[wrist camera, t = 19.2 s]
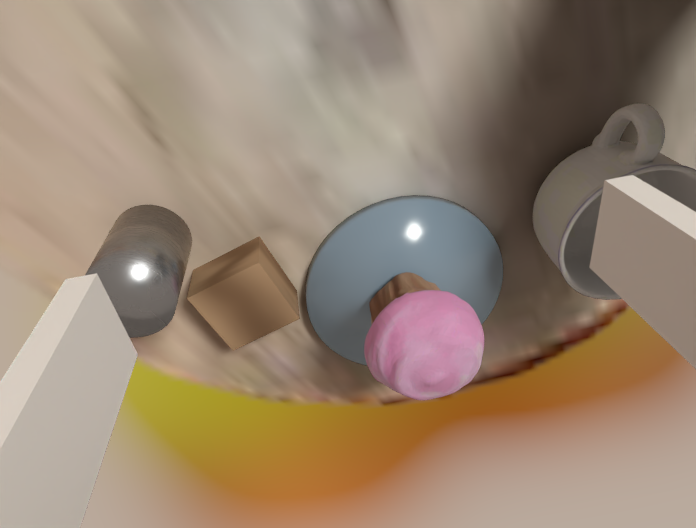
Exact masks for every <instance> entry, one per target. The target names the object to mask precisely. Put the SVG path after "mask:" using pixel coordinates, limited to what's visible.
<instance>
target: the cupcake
mask: <svg viewBox="0 0 696 528" xmlns="http://www.w3.org/2000/svg"><path fill="white" fill-rule="evenodd" d="M369 307H370V312H371V324H372V326H371V327H370V329H369V331H368V333H367V336H366V339H365V343H364V355H365V359H366V363H367V366H368V368H369V370H370V372H371V374H372V376H373V377H374V378H375V379H376V380H377V381H379V382H381V383H382V384H384V385H386V386H388V387H389V388H391V389H392V390H394V391H396V392H398V393H401V394H402V395H405V396H407V397H410V398H413V399H416V400H429V399H434V398H438V397H442V396H446V395H449V394H452V393H454V392H456V391H458V390H459V389H460V388H462V387H463V386H465V385H467V384H468V383H469V382H470V381H471V380H472V379H473V378H474V376H475V375H476V374H477V372H478V370H479V368H480V366H481V362H482V356H483V350H484V333H483V328H482V325H481V323H480V320H479V318H478V316H477V314H476V313H475V311H474V309H473V308H472V307H471V306H470V305H469V304H468V303H467V302H465V301H464V300H462V299H460V298H459V297H458V296H456V295H455V294H452V293H450V292H447V291H441V290H440V289H439V288H438V287H437V285H436V284H434V283H431V282H428V281H426V280H424V279H423V278H422V277H420V276H418V275H417V274H414V273H410V272H405V273H401V274H398V275H396V276H395V277H394V278H393V279H392V280H391V281H390V282H388V283H387V284H386V285H385V286H384V287H383V288H382V289H381V290H379V291H378V292H377V293H376V294H375V296H374V297H373V298H372V299H371V301H370V303H369Z"/></svg>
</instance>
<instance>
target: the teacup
mask: <svg viewBox="0 0 696 528" xmlns="http://www.w3.org/2000/svg"><path fill="white" fill-rule="evenodd" d="M631 121H632V122H633V124H634V126H635V128H636V130H637V135H638V143H637V144H636V143H632V142H625V141H619V140H620V138H621V136H622V134H623V132H624V130H625V128H626V127H627V125H628V124H629V123H630V122H631ZM664 138H665V129H664V124H663V121H662V118H661V117H660V115H659V113H658V112H657V111H656V110H655V109H654V108H653V107H651V106H650V105H647V104H640V103H636V104H632V105H628V106H625V107H622V108H620V109H618V110H617V111H616V112H614V113H613V115H612V116H611V117H610V118H609V119H608V121H607V122H606V124H605V126H604V128H603V129H602V131H601V133H600V134H598V135H597V136H596V137H595V138H594V140H593V143H592V145H591V146H588V147H585V148H583V149H581V150H579V151H577V152H575V153H574V154H572V155H570V156H569V157H567V158H566V159H564V160H563V161H562V162H561V163H560V164H558V165H557V166H556V167H555V168H554V169H553V170H552V171H551V173H550V174H549V175H548V176H547V178H546V179H545V181H544V182H543V184H542V185H541V187H540V189H539V191H538V194H537V196H536V199H535V203H534V207H533V226H534V230H535V233H536V236H537V238H538V240H539V242H540V244H541V246H542V247H543V249H544V250H545V252H546V253H547V255H548V256H549V257H550V259H551V260H552V261H553V263H554V264H555V265H556V266H557V268H558V269H559V270H560V271H561V273H562V276H563V277H564V279H565V280H566V282H567V283H568V284H569V285H570V286H571V287H572V288H573V289H574V290H575V291H577V292H579V293H580V294H582V295H585V296H588V297H592V298H597V299H605V300H610V299H622V298H621V297H620V296H619V295H618V294H617V293H616V292H615V291H613V290H612V289H611V288H610V287H609V286H608V285H607V284H606V283H605V282H604V281H603V280H602V279H601V278H600V277H599V276H598V275H597V274H596V273H595V272H594V271H593V270H591V269H590V268H589V267H590V261H591V256H592V250H593V244H594V238H595V233H596V227H597V221H598V216H599V210H600V204H601V198H602V193H603V187H604V181H605V180H608V179H613V178H619V177H624V176H630V175H634V176H635V177H637V178H639V179H641V180H642V181H644V182H646V183H647V184H649V185H651V186H652V187H654V188H656V189H658V190H659V191H661V192H663V193H664V194H666V195H668V196H670V197H671V198H673V199H675V200H676V201H678V202H680V203H681V204H683V205H685V206H687V207H688V208H690V209H692V210H693V211H695V212H696V170H695V169H693V168H690V167H687V166H683V165H681V164H679V163H677V162H676V161H674V160H672V159H670V158H668V157H666V156H665V155H663V154H661V153H659V152H660V150H661V148H662V146H663V142H664Z"/></svg>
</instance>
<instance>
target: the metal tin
mask: <svg viewBox="0 0 696 528" xmlns="http://www.w3.org/2000/svg"><path fill="white" fill-rule="evenodd" d="M191 247H192V237H191V233H190V230H189V228H188V226H187V225H186V223H185V222H184V221H183V220H182V219H181V218H180V217H179V216H178V215H177V214H175V213H174V212H172V211H170V210H168V209H166V208H163V207H160V206H155V205H140V206H135V207H133V208H130V209H128V210H126V211H125V212H123V213H122V214H121V215H120V216H119V217H118V219H117V220H116V222H115V224H114V225H113V227H112V229H111V231H110V232H109V234H108V236H107V238H106V239H105V241H104V243H103V245H102V247H101V248H100V250H99V252H98V254H97V255H96V257H95V259H94V261H93V262H92V264H91V266H90V268H89V269H88V271H87V273H86V275H91V274H96V273H97V274H98V276H99V278H100V280H101V282H102V284H103V286H104V288H105V290H106V292H107V294H108V296H109V298H110V300H111V302H112V304H113V306H114V308H115V310H116V312H117V314H118V316H119V318H120V320H121V322H122V324H123V326H124V328H125V330H126V332H127V334H128V336H129V337H143V336H148V335H151V334H154V333H156V332H158V331H160V330H162V329H163V328H164V327H165V326H167V325H168V323H169V322H170V321H171V320H172V318H173V316H174V314H175V310H176V306H177V302H178V298H179V294H180V290H181V286H182V282H183V278H184V274H185V270H186V266H187V262H188V258H189V254H190V251H191Z"/></svg>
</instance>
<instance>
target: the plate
mask: <svg viewBox="0 0 696 528" xmlns="http://www.w3.org/2000/svg"><path fill="white" fill-rule="evenodd" d="M405 272H410V273H414V274H417V275H418V276H420V277H422V278H423V279H424V280H426V281H428V282H431V283H434V284H436V285H437V287H438V288H439V289H440V290H441V291H447V292H450V293H452V294H455V295H456V296H458V297H459V298H460V299H462V300H464V301H465V302H467V303H468V304H469V305H470V306H471V307H472V308H473V309H474V311H475V313H476V314H477V316H478V318H479V320H480V323H481V325H482V324H483V322H484V321H485V320H486V319H487V317H488V316H489V314H490V313H491V311H492V309H493V307H494V305H495V303H496V301H497V299H498V296H499V293H500V290H501V286H502V280H503V262H502V256H501V253H500V249H499V246H498V244H497V242H496V240H495V238H494V237H493V235H492V234H491V233H490V231H489V230H488V229H487V227H486V226H485V225H484V224H483V223H482V221H480V220H479V219H478V218H477V217H476V216H475V215H474V214H473V213H472V212H470V211H469V210H467V209H466V208H464V207H462V206H460V205H458V204H456V203H454V202H452V201H449V200H445V199H442V198H437V197H432V196H418V195H412V196H401V197H396V198H391V199H386V200H383V201H380V202H377V203H374V204H372V205H370V206H367V207H365V208H363V209H361V210H359V211H357V212H356V213H354V214H353V215H351V216H349V217H348V218H346V219H345V220H344V221H343V222H341V223H340V224H339V225H338V226H337V227H336V228H335V229H334V230H333V231H332V232H331V233H330V234H329V235H328V236H327V237H326V238H325V240H324V241H323V242H322V244H321V245H320V246H319V248H318V250H317V251H316V253H315V255H314V257H313V259H312V262H311V264H310V267H309V270H308V274H307V279H306V290H305V291H306V302H307V310H308V314H309V318H310V321H311V323H312V325H313V328H314V330H315V331H316V333H317V334H318V336H319V337H320V339H321V340H322V341H323V342H324V343H325V344H326V345H327V346H328V347H329V348H331V349H332V350H333V351H334V352H336V353H337V354H339V355H341V356H342V357H344V358H346V359H349V360H351V361H353V362H356V363H360V364H363V365H367V363H366V359H365V355H364V343H365V339H366V336H367V333H368V331H369V329H370V327H371V326H372V324H371V312H370V307H369V303H370V301H371V299H372V298H373V297H374V296H375V294H376V293H377V292H378V291H379V290H381V289H382V288H383V287H384V286H385V285H386V284H387V283H388V282H390V281H391V280H392V279H393V278H394V277H395V276H396V275H398V274H401V273H405Z"/></svg>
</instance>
